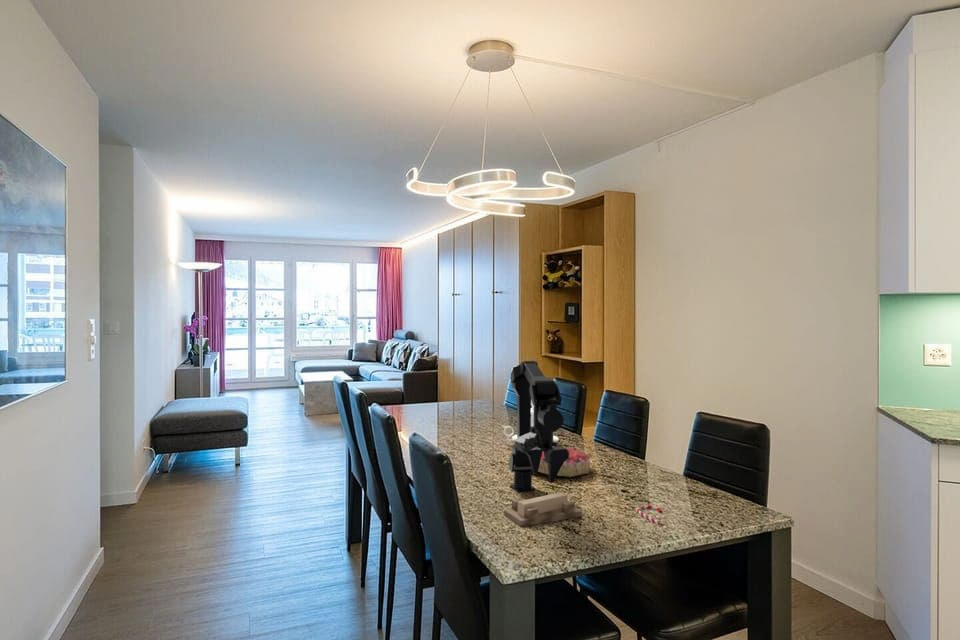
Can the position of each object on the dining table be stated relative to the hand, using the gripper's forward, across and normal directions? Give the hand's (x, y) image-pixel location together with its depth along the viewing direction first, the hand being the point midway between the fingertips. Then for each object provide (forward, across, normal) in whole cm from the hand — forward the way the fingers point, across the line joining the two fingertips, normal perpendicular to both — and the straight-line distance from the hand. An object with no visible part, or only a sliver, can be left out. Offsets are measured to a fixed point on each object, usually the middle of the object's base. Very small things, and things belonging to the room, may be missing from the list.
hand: (543, 478), depth 166 cm
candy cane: (+12, +13, +29) cm, 34 cm away
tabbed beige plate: (+11, 0, 0) cm, 11 cm away
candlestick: (+11, -80, +41) cm, 91 cm away
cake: (+11, -41, +30) cm, 52 cm away
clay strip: (+9, 0, 0) cm, 9 cm away
